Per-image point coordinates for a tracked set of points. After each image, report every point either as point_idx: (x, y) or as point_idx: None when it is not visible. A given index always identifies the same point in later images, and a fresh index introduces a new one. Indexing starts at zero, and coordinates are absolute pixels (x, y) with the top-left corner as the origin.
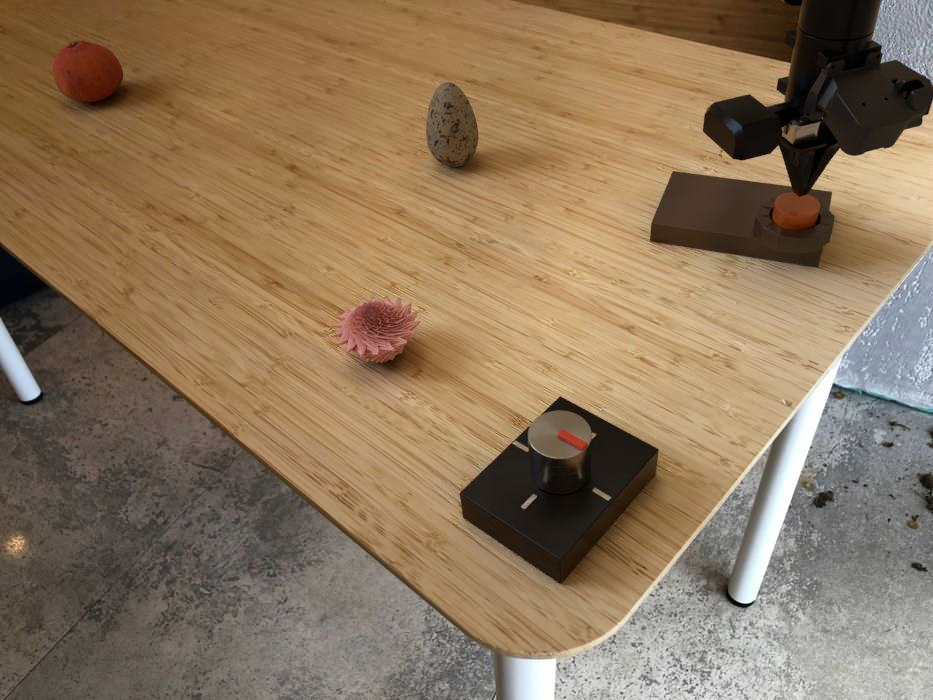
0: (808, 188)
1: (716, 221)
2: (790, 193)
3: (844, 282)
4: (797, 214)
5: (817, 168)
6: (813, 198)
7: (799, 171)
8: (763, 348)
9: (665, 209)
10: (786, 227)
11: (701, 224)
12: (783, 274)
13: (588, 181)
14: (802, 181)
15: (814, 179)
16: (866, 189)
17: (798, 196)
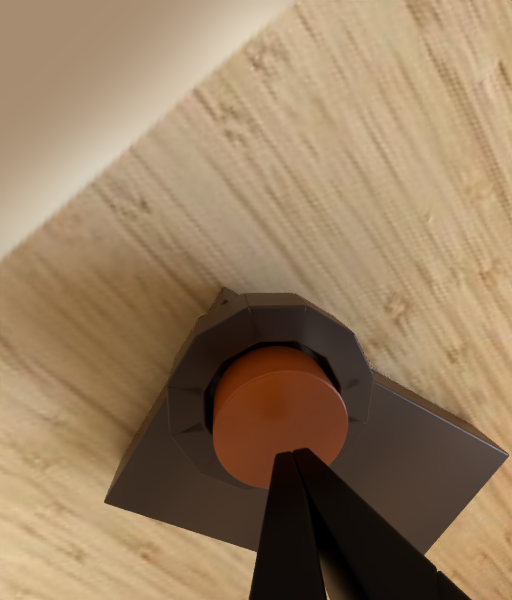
0: (287, 474)
1: (397, 440)
2: None
3: (189, 223)
4: (311, 382)
5: (317, 592)
6: (221, 452)
7: (438, 573)
8: (455, 53)
9: (464, 490)
10: (317, 364)
11: (430, 435)
12: (300, 282)
13: (475, 578)
14: (355, 505)
15: (285, 514)
16: (9, 512)
17: (261, 467)
